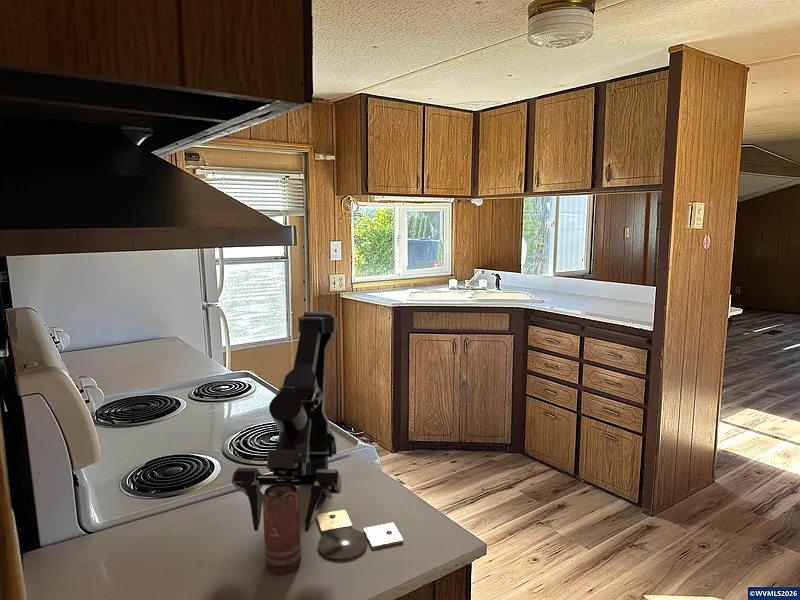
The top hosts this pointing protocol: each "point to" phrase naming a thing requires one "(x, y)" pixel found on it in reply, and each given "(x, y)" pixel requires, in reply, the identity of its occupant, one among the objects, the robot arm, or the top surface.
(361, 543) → the flat squares and disc
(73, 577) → the top surface
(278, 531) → the can
